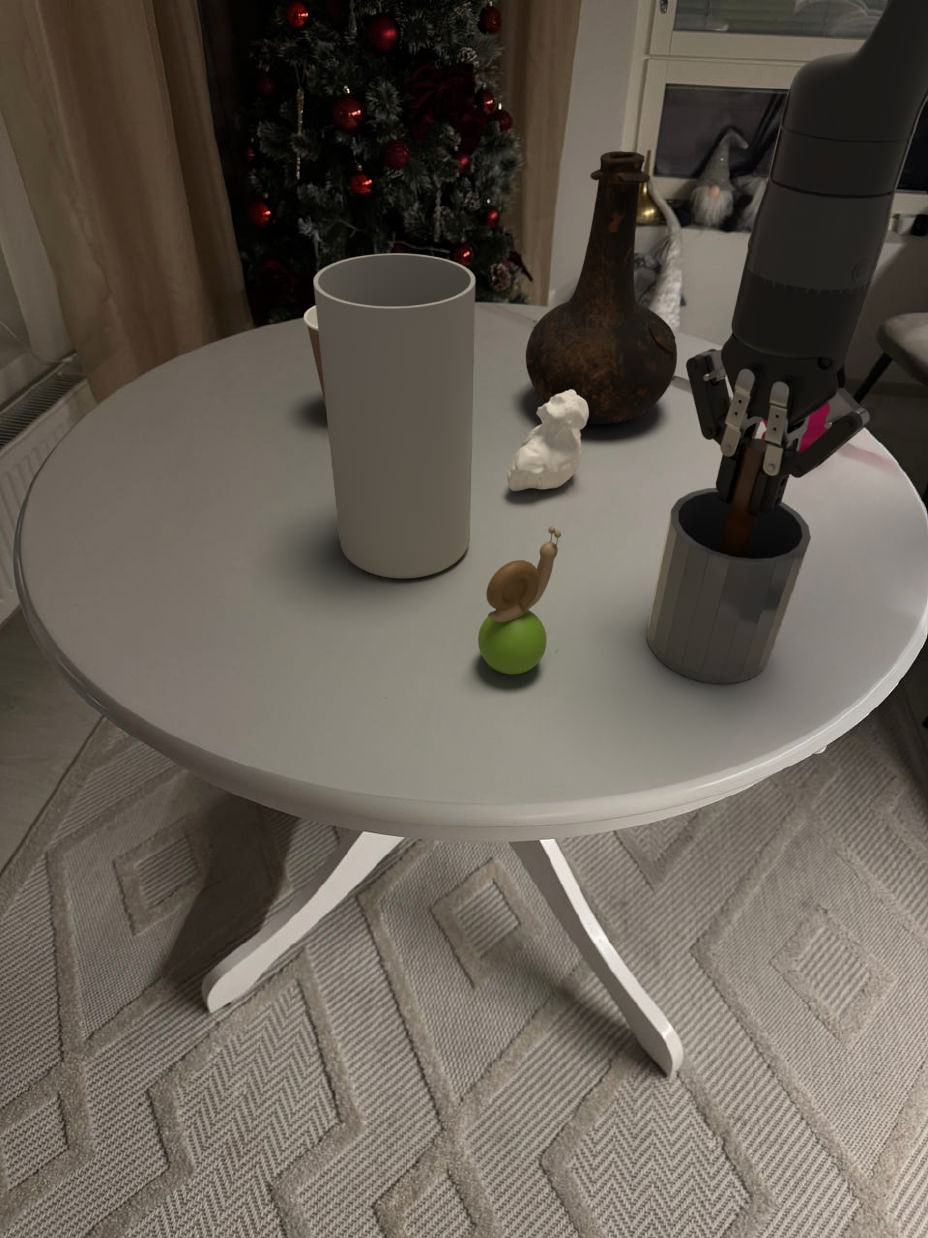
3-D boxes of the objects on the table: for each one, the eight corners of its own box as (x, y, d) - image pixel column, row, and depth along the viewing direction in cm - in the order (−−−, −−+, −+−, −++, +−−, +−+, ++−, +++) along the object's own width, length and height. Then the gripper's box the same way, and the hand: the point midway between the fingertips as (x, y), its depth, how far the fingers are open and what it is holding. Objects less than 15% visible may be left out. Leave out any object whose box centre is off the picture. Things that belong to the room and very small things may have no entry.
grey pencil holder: (693, 589, 77) (721, 473, 69) (793, 645, 71) (836, 526, 63) (622, 638, 71) (643, 519, 64) (723, 703, 66) (761, 581, 58)
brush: (706, 595, 72) (750, 424, 62) (751, 620, 69) (805, 446, 59) (675, 617, 70) (716, 443, 59) (720, 643, 67) (770, 467, 57)
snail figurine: (566, 666, 69) (582, 545, 61) (504, 698, 66) (512, 575, 58) (525, 630, 72) (535, 511, 64) (464, 659, 69) (466, 538, 61)
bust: (520, 523, 88) (589, 466, 80) (472, 468, 88) (536, 405, 79) (570, 473, 96) (638, 417, 88) (526, 423, 96) (590, 361, 87)
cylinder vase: (496, 544, 82) (508, 280, 65) (398, 600, 75) (385, 321, 59) (410, 494, 88) (402, 243, 72) (314, 541, 82) (281, 276, 65)
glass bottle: (632, 457, 95) (677, 185, 77) (495, 416, 102) (506, 158, 84) (688, 398, 107) (738, 150, 88) (561, 365, 114) (584, 129, 96)
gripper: (949, 279, 49) (856, 525, 61) (746, 226, 57) (697, 453, 68) (888, 309, 45) (801, 567, 57) (679, 248, 53) (638, 485, 64)
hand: (744, 504), depth 62 cm, fingers closed on brush, 2 cm apart
